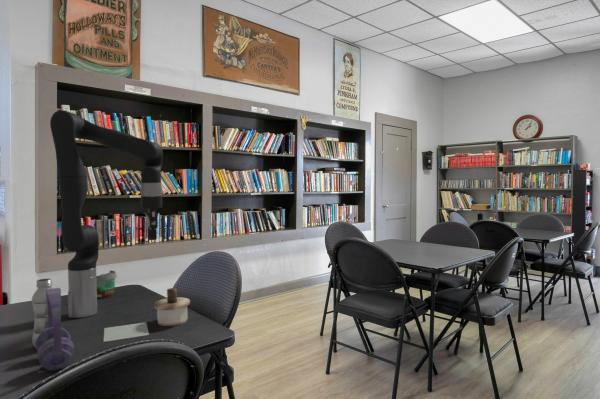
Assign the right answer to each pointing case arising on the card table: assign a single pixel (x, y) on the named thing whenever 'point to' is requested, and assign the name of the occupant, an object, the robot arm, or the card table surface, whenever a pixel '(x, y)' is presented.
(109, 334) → the mat
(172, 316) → the cup
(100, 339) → the card table surface
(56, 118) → the robot arm
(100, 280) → the food container
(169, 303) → the lid
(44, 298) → the plastic bottle
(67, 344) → the headphones
